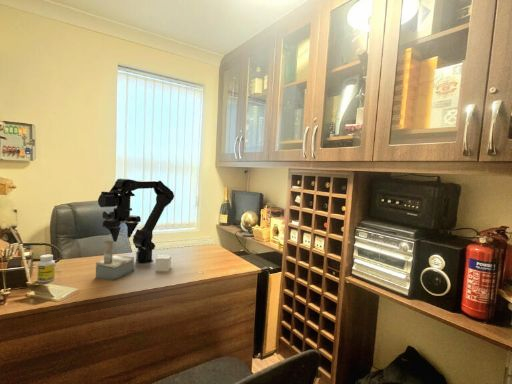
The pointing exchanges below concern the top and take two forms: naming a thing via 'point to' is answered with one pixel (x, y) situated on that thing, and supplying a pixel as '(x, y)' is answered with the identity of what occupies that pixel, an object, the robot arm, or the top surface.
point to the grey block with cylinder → (110, 260)
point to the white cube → (163, 263)
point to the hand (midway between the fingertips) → (122, 239)
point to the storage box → (114, 271)
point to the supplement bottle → (46, 268)
